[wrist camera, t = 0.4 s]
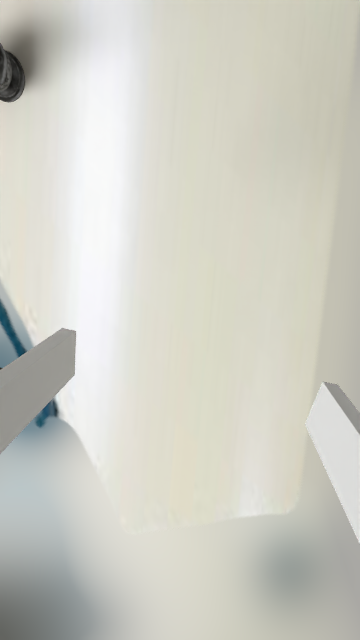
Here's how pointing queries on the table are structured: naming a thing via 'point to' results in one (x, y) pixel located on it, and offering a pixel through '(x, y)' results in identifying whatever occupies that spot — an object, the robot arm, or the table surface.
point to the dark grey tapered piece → (10, 77)
